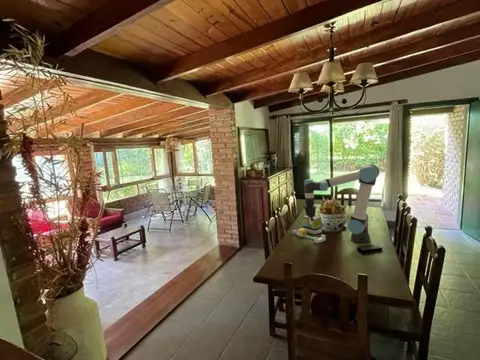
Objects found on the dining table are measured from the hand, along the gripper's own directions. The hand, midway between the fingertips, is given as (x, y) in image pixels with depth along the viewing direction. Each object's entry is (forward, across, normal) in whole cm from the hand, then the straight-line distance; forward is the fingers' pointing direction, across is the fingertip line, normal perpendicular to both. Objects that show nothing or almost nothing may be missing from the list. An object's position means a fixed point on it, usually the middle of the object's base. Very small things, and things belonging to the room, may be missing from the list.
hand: (311, 224), depth 247 cm
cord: (+13, +5, 0) cm, 14 cm away
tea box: (+13, +13, -16) cm, 24 cm away
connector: (+13, +19, 0) cm, 23 cm away
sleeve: (+13, +11, 0) cm, 17 cm away
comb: (+13, -9, 0) cm, 16 cm away
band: (+13, +15, 0) cm, 20 cm away
